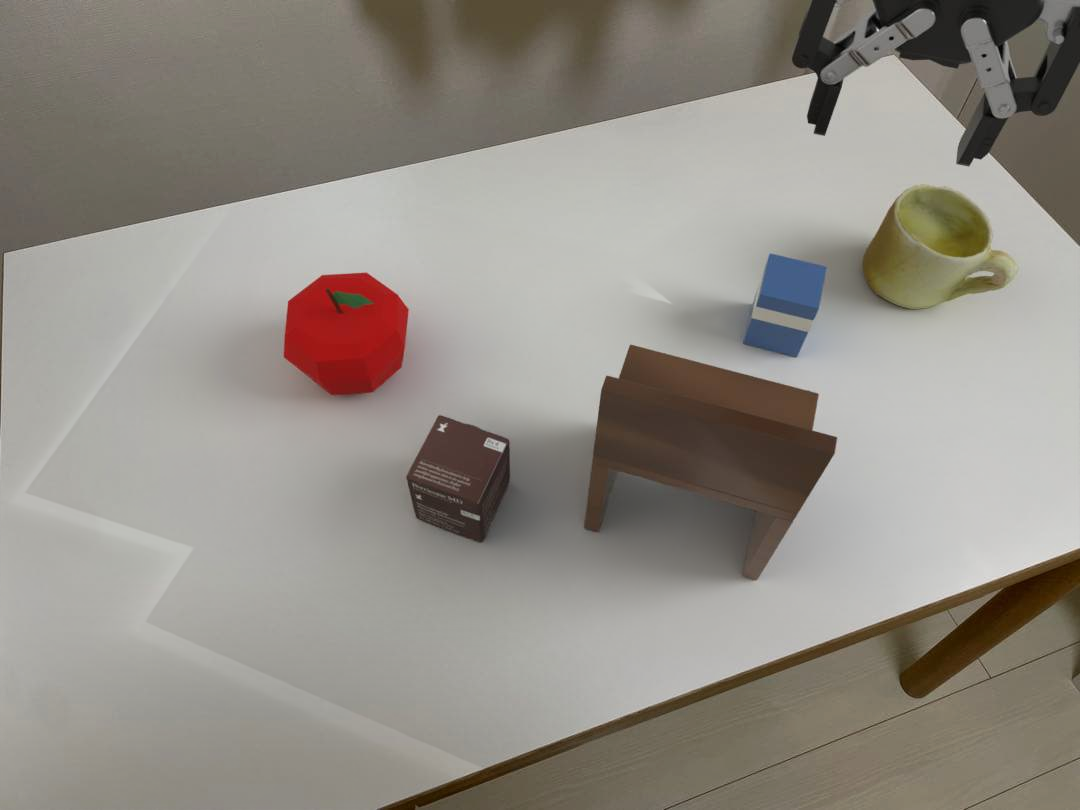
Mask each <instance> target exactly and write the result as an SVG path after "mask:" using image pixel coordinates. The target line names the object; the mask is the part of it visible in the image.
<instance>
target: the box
mask: <svg viewBox="0 0 1080 810" xmlns="http://www.w3.org/2000/svg"><path fill="white" fill-rule="evenodd" d="M510 442H511V441H510V438H508V437H505V436H502V435H499V434H496V433H494V432H490V431H487V430H484V429H482V428H480V427H478V426H476V425H473V424H470V423H464V422H461V421H459V420H456V419H453V418H450V417H447V416H444V415H441V414H438V415H437V417H436V419H435V421H434V422H433V425H432V427H431V428H430V431H429V432H428V434H427V436H426V438H425V440H424V442H423V444H422V445H421V447H420V449H419V451H418V453H417V455H416V456H415V458H414V460H413V462H412V464H411V466H410V468H409V470H408V472H407V473H406V475H405V479H406V481H407V488H408V490H409V494H410V499H411V503H412V507H413V512H414V515H415V519H416V520H419V521H421V522H423V523H425V524H428V525H430V526H434V527H436V528H439V529H441V530H443V531H446V532H449V533H452V534H454V535H457V536H459V537H463V538H464V539H468V540H471V541H474V542H475V543H476V542H477V543H478V544H479V543H482V544H483V542H484V541H485V539H486V537H487V535H488V533H489V530H490V528H491V525H492V523H493V521H494V519H495V517H496V514H497V512H498V510H499V508H500V506H501V503H502V501H503V499H504V497H505V494H506V492H507V491H508V488H509V485H510V483H511V461H510V459H511V458H510V457H511V456H510V455H511V454H510V451H511V450H510V446H511V445H510Z"/></svg>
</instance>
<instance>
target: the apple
mask: <svg viewBox="0 0 1080 810" xmlns="http://www.w3.org/2000/svg"><path fill="white" fill-rule="evenodd" d="M409 313H410V312H409V308H408V307H407V305H406V303H404V301H403V300H402V298H401V297H400V296H399V294H398V293H397V292H395V291H394V290H392V289H390V288H389V287H388V286H386V285H385V284H383V283H382V282H381V281H380V280H378V279H377V278H375V277H374V276H373V275H371V274H369V273H368V272H366V271H365V272H353V273H349V272H348V273H334V274H322V275H320V276H319V277H317V278H316V279H315V280H314V281H312V282H311V283H310V284H309V285H307V286H306V287H305V288H303V289H302V290H301V291H299V292H298V293H296V294H295V295H294V296H292V298H289V300H287V309H286V319H285V327H284V328H285V329H284V339H283V342H284V343H283V359H285V360H286V361H288V362H289V363H290V364H292V366H294V367H295V368H297V369H298V370H299V371H301V372H302V373H303V374H304V375H305V376H307V377H308V378H309V379H310V380H312V381H313V382H314V383H316V384H317V385H318V386H319V387H321V388H322V389H323V390H324V391H325V392H327V393H328V394H329V395H330V396H338V395H354V394H355V395H357V394H370V393H374V392H375V391H376V390H377V389H378V388H380V387H381V386H382V385H383V384H384V383H385V382H386V381H388V380H389V379H390V378H391V377H392V376H393V375H394V374H396V373H397V372H398V371H399V370H400V369H401V368H402V367H403V361H404V355H405V350H406V349H405V348H406V339H407V329H408V320H409Z"/></svg>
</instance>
